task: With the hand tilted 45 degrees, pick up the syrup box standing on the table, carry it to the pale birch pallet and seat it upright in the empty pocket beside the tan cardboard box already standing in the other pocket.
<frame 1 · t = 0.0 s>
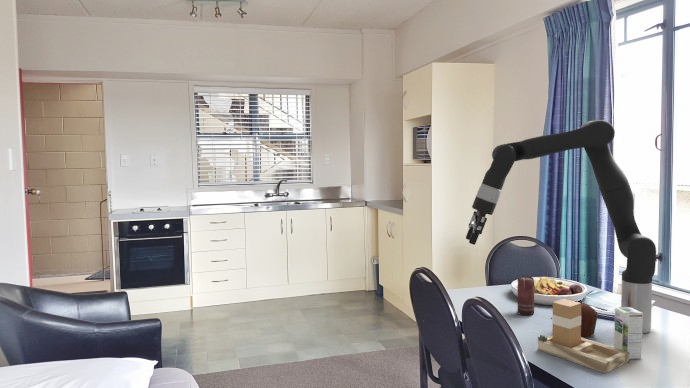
hand: (469, 241, 185), 31 cm above the table, tool tilted 20°, fingers open, 8 cm apart
can: (525, 313, 202), on the table
bowl: (548, 297, 223), on the table
pallet: (581, 355, 161), on the table
tan cardboard box: (566, 348, 166), resting on pallet
syrup box: (627, 356, 160), on the table
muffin: (579, 333, 181), on the table
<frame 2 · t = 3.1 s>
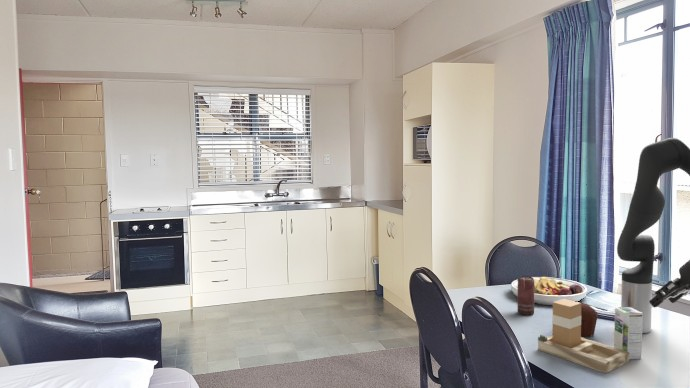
hand: (661, 302, 149), 20 cm above the table, tool tilted 40°, fingers open, 8 cm apart
nothing on the table moved.
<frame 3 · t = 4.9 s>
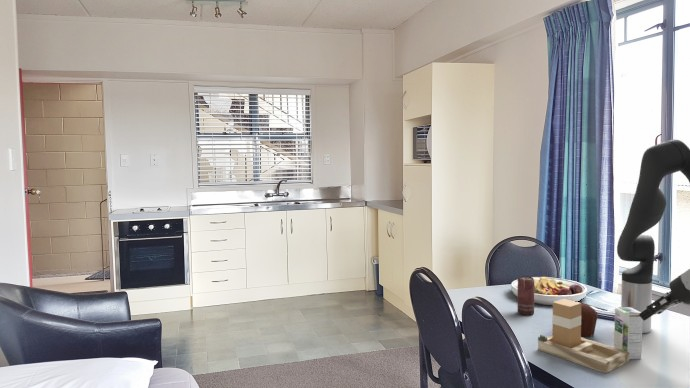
hand: (648, 314, 154), 15 cm above the table, tool tilted 45°, fingers open, 8 cm apart
nothing on the table moved.
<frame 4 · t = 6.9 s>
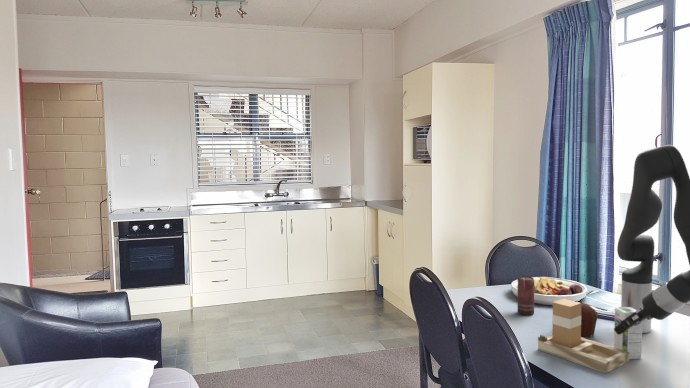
hand: (623, 328, 161), 8 cm above the table, tool tilted 45°, fingers closed on syrup box, 7 cm apart
syrup box: (627, 356, 160), on the table, touching gripper
everything else where it was.
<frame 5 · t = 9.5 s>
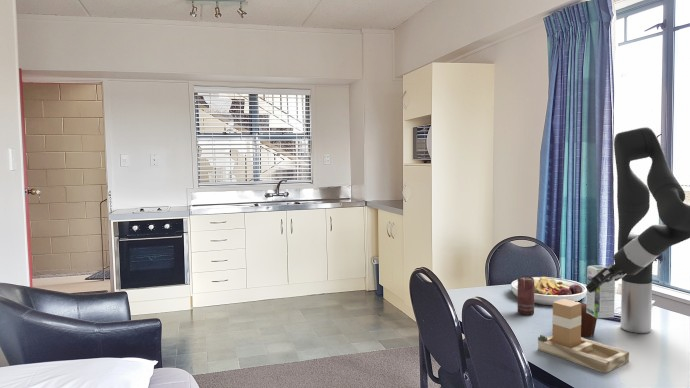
hand: (595, 287, 156), 22 cm above the table, tool tilted 45°, fingers closed on syrup box, 7 cm apart
syrup box: (600, 315, 155), point 14 cm above the table, touching gripper
everything else where it was.
when the fingers open (10 cm above the table, at t = 12.5 s): syrup box drops 1 cm, resting on pallet.
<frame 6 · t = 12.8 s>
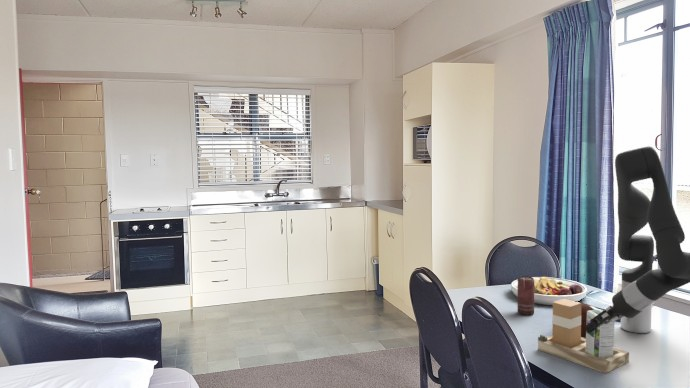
hand: (594, 327, 157), 10 cm above the table, tool tilted 45°, fingers open, 8 cm apart
syrup box: (599, 360, 157), resting on pallet
everything else where it was.
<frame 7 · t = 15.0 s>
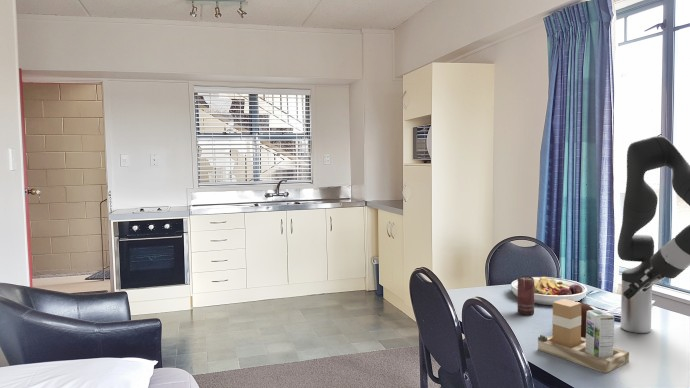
hand: (634, 292, 148), 23 cm above the table, tool tilted 40°, fingers open, 8 cm apart
nothing on the table moved.
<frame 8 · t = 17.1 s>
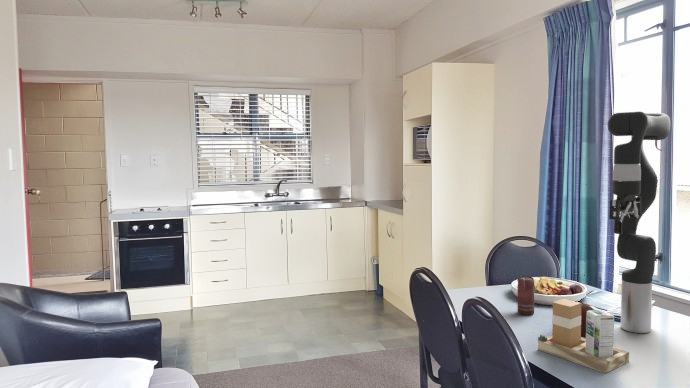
hand: (625, 231, 159), 38 cm above the table, tool pointing down, fingers open, 8 cm apart
nothing on the table moved.
at the end: syrup box 0.2 cm from the target spot on the pallet, point 0.3 cm above the pallet's base; syrup box tilted 0°; the gripper is holding nothing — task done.
